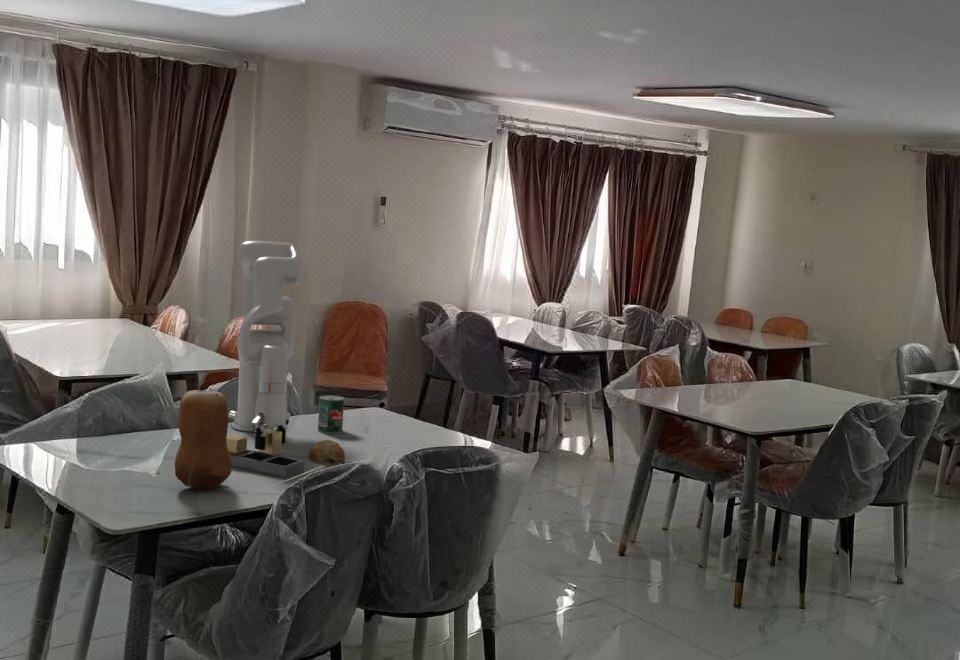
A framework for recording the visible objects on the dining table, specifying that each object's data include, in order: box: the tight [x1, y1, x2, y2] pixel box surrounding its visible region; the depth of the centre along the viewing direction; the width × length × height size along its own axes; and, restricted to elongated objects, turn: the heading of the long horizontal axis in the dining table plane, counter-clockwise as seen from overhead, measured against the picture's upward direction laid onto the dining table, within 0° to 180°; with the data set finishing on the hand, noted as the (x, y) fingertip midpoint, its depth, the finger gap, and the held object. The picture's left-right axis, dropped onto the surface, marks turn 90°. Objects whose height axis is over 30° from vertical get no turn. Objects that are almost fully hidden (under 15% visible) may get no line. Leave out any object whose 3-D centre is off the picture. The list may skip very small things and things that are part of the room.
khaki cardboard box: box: [226, 434, 248, 456], centre depth 269 cm, size 4×4×7 cm
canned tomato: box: [317, 394, 345, 435], centre depth 316 cm, size 8×8×11 cm
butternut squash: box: [174, 389, 232, 491], centre depth 244 cm, size 14×13×25 cm
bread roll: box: [308, 439, 346, 466], centre depth 280 cm, size 10×10×8 cm
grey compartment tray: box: [230, 448, 305, 481], centre depth 267 cm, size 24×8×4 cm, turn 66°
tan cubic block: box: [258, 428, 282, 455], centre depth 282 cm, size 4×4×7 cm
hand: (270, 446), depth 282 cm, fingers open, 9 cm apart
